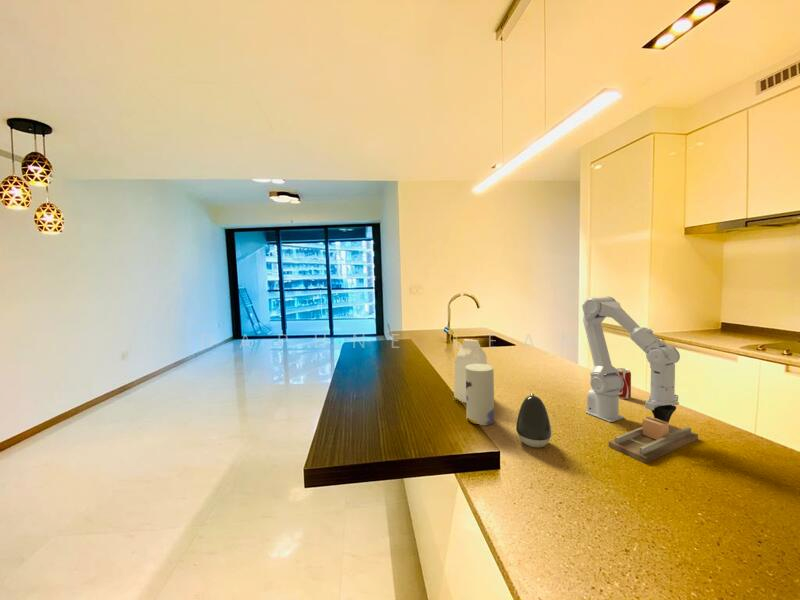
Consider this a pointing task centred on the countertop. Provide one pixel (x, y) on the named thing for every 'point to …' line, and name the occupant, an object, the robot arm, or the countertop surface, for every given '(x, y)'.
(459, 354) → the milk
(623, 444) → the fader board
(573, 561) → the countertop surface
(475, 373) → the container
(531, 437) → the dark egg shaped diffuser
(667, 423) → the fader knob
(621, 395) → the soda can
